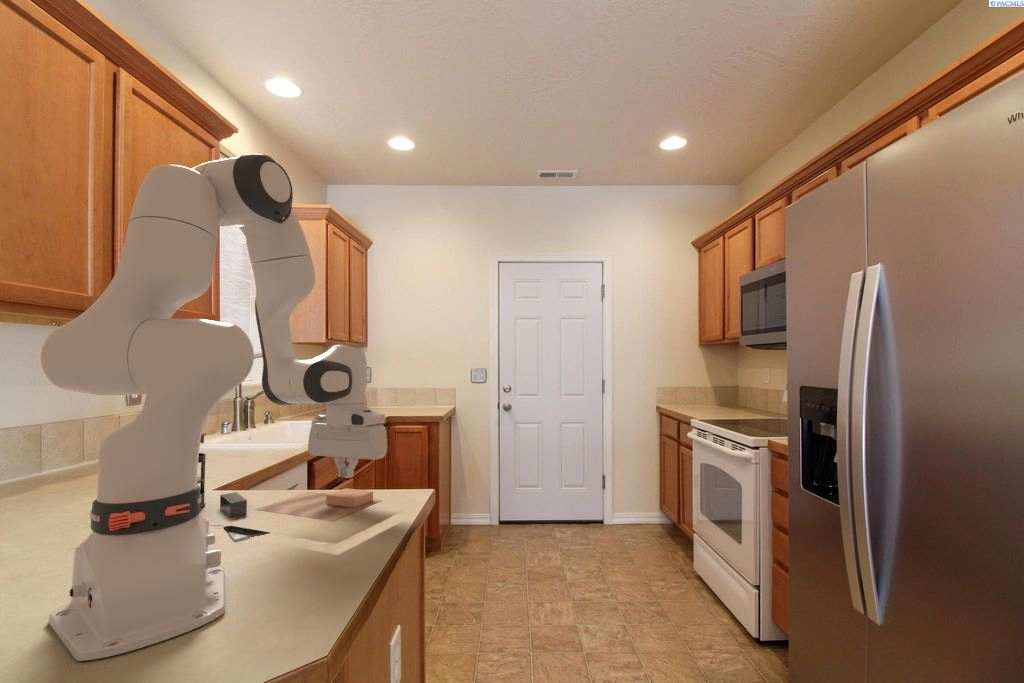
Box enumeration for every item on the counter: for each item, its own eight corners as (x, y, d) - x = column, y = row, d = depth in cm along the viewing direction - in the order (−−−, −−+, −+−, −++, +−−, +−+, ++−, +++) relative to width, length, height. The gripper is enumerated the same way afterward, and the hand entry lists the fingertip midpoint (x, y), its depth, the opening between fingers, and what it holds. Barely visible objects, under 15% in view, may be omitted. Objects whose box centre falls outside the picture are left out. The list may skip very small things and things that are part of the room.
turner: (270, 533, 87) (270, 509, 87) (234, 541, 83) (235, 517, 83) (243, 511, 101) (243, 490, 102) (211, 517, 97) (212, 496, 97)
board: (382, 507, 103) (382, 500, 103) (333, 528, 89) (333, 521, 89) (309, 498, 111) (309, 491, 111) (254, 516, 97) (254, 509, 97)
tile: (345, 497, 106) (372, 500, 103) (326, 504, 100) (354, 508, 97) (345, 488, 106) (373, 491, 103) (326, 494, 100) (354, 498, 97)
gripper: (301, 415, 104) (300, 476, 103) (373, 418, 96) (372, 483, 95) (322, 413, 110) (321, 470, 109) (391, 415, 102) (391, 477, 101)
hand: (346, 476), depth 102 cm, fingers closed
